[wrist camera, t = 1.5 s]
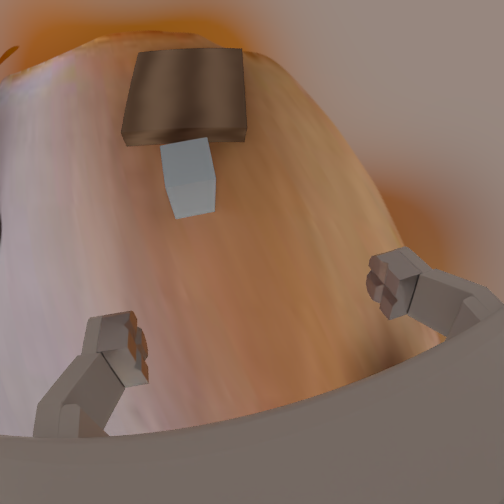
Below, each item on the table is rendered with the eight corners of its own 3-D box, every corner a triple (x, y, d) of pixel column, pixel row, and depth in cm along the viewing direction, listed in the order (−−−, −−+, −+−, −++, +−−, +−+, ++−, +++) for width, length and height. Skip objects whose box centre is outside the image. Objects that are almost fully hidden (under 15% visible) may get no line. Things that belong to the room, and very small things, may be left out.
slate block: (175, 219, 32) (165, 188, 24) (170, 183, 33) (159, 145, 25) (214, 211, 33) (216, 178, 25) (207, 176, 34) (207, 137, 26)
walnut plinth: (126, 146, 33) (120, 132, 30) (141, 67, 36) (138, 52, 33) (244, 141, 35) (247, 127, 32) (239, 63, 38) (241, 48, 35)
